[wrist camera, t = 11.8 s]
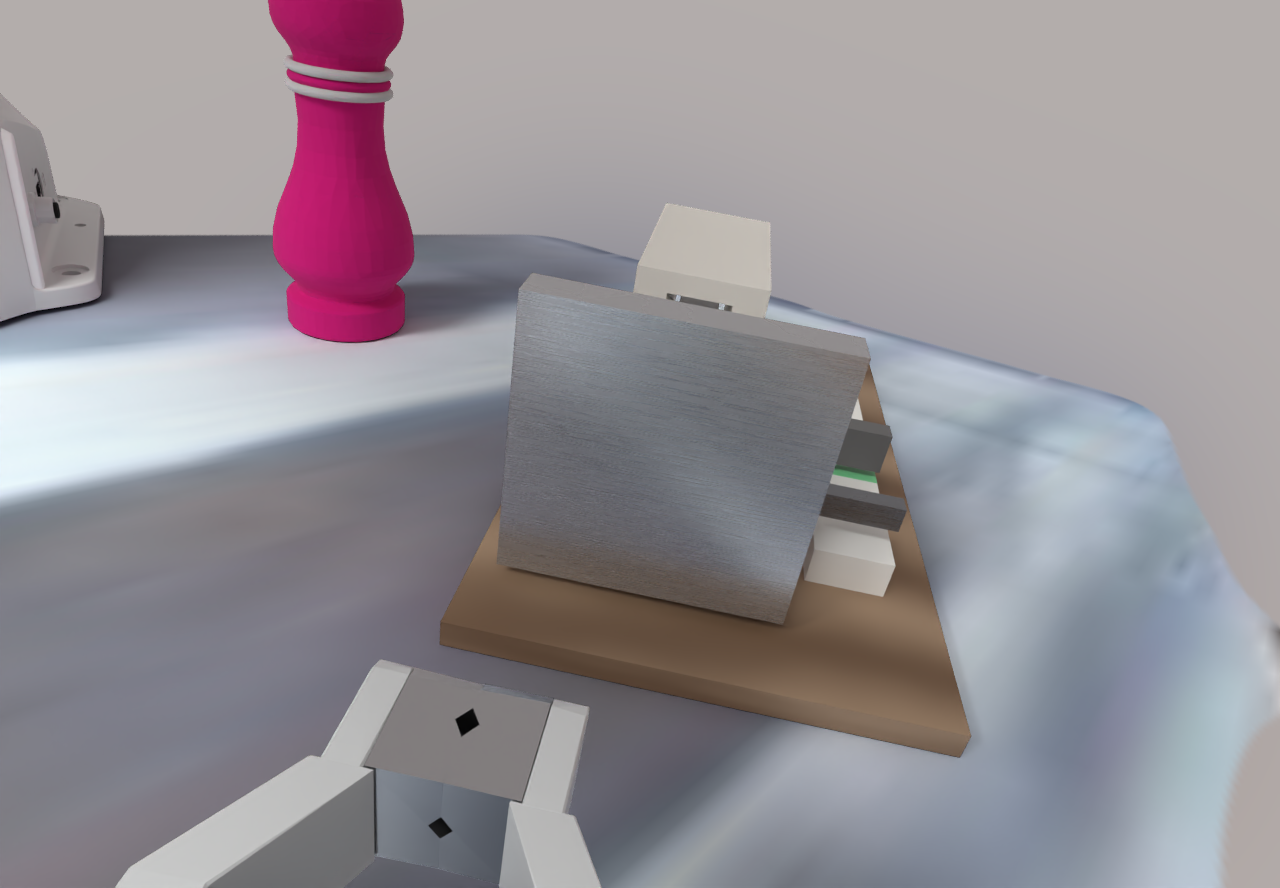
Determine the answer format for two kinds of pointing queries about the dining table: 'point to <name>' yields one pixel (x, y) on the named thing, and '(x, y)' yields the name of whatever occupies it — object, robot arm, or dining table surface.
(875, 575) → the gauge scale
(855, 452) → the block
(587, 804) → the dining table surface
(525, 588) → the board
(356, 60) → the pepper mill
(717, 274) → the block
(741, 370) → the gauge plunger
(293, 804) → the robot arm
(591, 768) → the dining table surface
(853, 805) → the dining table surface
